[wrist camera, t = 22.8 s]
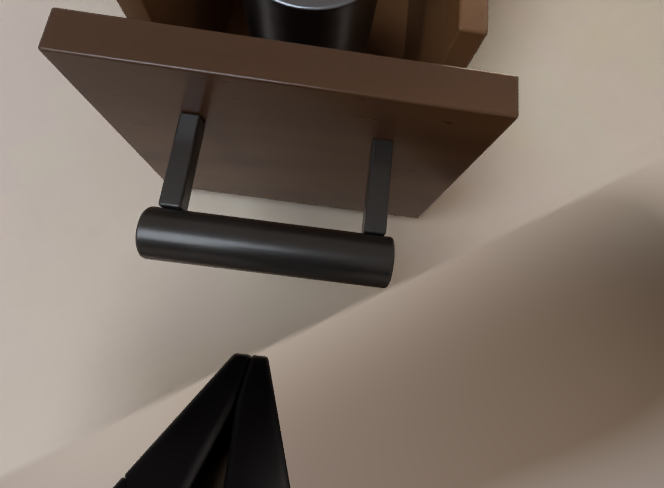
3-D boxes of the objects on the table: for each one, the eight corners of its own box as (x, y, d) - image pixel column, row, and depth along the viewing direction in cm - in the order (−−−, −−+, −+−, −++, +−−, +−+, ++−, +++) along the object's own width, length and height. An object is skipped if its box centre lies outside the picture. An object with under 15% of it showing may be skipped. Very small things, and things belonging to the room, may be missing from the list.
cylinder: (374, 109, 17) (415, -24, 10) (287, 148, 16) (275, 31, 10) (329, 35, 18) (341, -131, 11) (244, 69, 17) (206, -87, 10)
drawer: (412, 310, 16) (520, 291, 8) (147, 278, 16) (-27, 223, 7) (433, -31, 20) (517, -270, 12) (226, -64, 20) (171, -333, 12)
